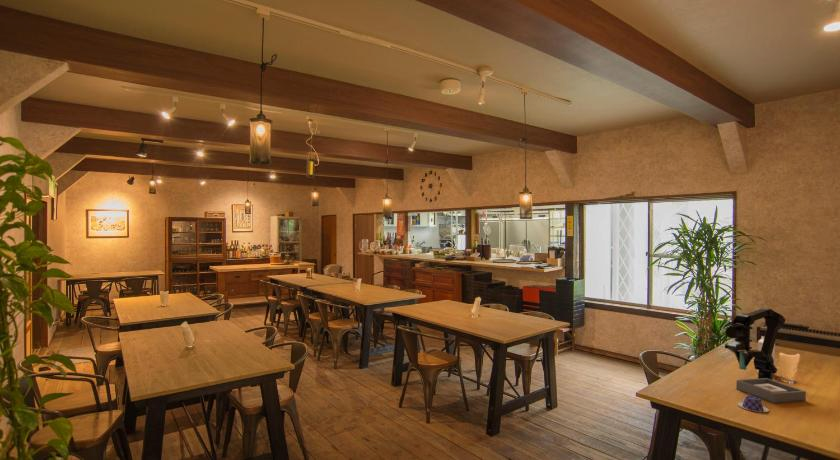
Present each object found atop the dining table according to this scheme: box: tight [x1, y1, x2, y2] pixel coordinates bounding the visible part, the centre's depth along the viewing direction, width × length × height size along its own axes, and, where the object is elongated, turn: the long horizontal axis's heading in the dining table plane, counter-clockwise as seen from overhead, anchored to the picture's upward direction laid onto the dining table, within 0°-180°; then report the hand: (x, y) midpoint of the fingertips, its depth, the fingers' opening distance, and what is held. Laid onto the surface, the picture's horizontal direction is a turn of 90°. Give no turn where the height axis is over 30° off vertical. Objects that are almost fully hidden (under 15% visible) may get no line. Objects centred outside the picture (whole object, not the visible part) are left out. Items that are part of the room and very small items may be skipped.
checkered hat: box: [737, 395, 770, 413], centre depth 209 cm, size 12×12×5 cm
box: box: [735, 378, 807, 405], centre depth 226 cm, size 20×20×5 cm
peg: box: [738, 352, 748, 371], centre depth 241 cm, size 3×3×9 cm
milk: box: [756, 335, 776, 373], centre depth 261 cm, size 6×6×22 cm
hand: (743, 365), depth 241 cm, fingers closed on peg, 3 cm apart
